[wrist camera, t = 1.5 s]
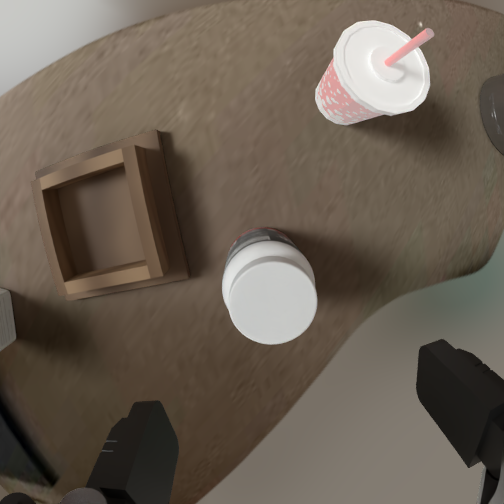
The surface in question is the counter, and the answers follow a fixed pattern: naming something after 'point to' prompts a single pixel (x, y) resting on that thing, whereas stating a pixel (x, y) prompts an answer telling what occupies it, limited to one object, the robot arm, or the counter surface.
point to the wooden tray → (110, 219)
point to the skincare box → (6, 319)
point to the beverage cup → (374, 74)
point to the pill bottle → (269, 287)
